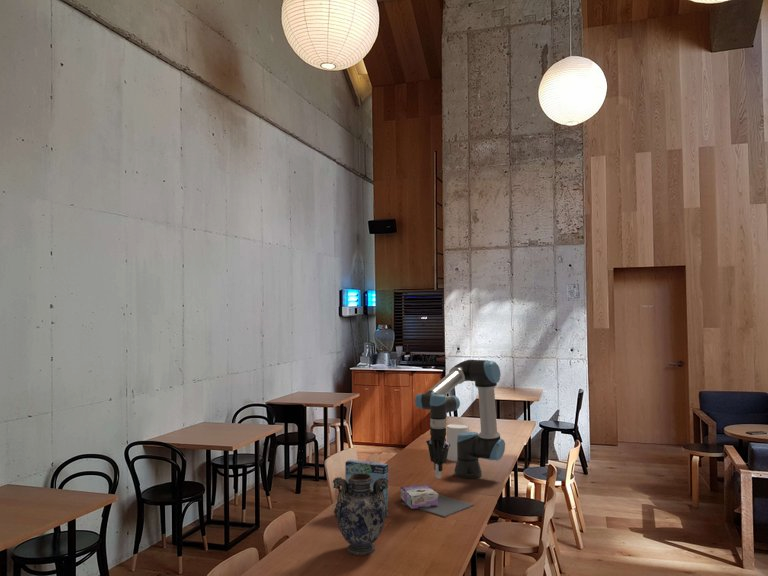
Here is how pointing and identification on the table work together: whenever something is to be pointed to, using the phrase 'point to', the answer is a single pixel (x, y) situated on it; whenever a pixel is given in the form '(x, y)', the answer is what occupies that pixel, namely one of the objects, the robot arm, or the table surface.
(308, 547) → the table surface
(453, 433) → the canister
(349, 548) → the decorative vase
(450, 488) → the table surface
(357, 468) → the blue cardboard box
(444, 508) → the rubber mat
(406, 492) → the candy box
